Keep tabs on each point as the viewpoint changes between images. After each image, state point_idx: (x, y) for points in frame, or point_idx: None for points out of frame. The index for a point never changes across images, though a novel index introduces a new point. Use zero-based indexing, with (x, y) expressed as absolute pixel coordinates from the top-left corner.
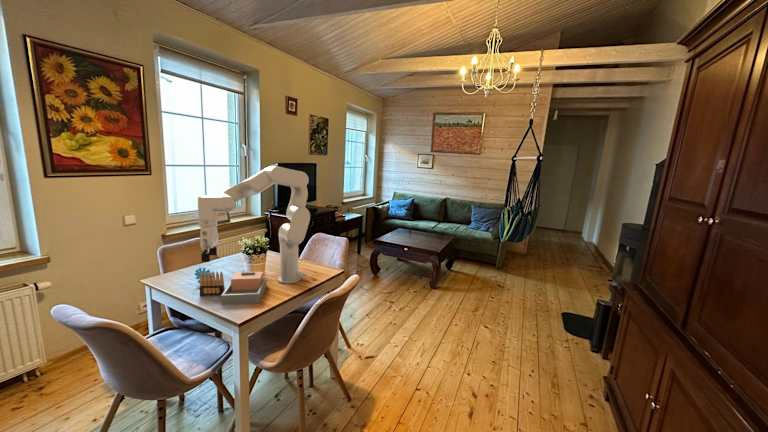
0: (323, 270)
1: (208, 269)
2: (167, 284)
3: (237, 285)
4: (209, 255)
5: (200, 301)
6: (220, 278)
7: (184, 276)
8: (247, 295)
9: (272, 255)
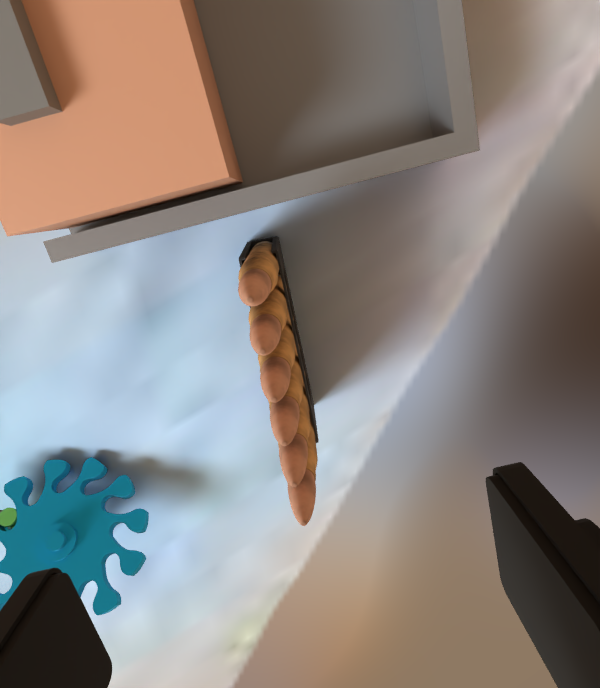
0: None
1: None
2: (181, 680)
3: (218, 111)
4: (593, 568)
5: (398, 349)
6: (272, 285)
7: None
8: None
9: None
